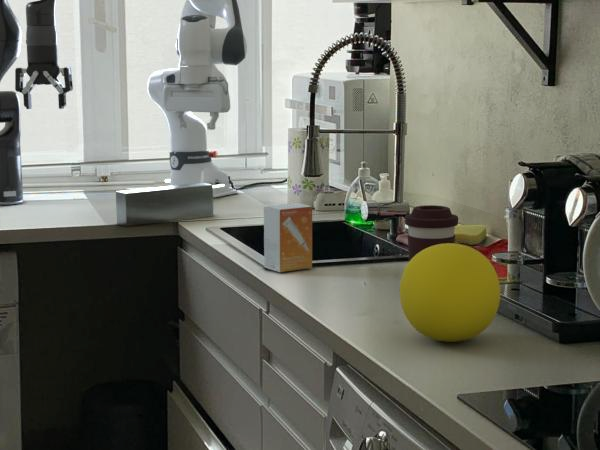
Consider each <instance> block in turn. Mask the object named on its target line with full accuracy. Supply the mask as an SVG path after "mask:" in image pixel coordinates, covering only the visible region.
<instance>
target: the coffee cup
mask: <svg viewBox="0 0 600 450" xmlns="http://www.w3.org/2000/svg"><path fill="white" fill-rule="evenodd" d="M404 225H406V226H407V227H408V228H407V230H408V233H407V251H408V253H407V254H408V262H409V261H410V260H411V259H412V258H413V257H414V256H415V255H416V254H418V253H419V252H420V251H422V250H424V249H426V248H428V247H431V246H434V245H438V244H445V243H454V244H456V243H455V242H456V235H455V229H456V228H455V227H456V226H458V225H459V216H458V215H456V214H453V213H452V211H451V208H450V207H448V206H444V205H437V204H436V205H434V204H433V205H431V204H429V205H426V204H425V205H418V206H414V207H413V208H412V210H411V213H408V214H406V215H405V216H404Z"/></svg>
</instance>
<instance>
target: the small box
mask: <svg viewBox="0 0 600 450" xmlns="http://www.w3.org/2000/svg"><path fill="white" fill-rule="evenodd" d="M263 248H264V249H263V257H264V258H263V259H264V266H263V267H264V268H266V269H267V270H270V271H274V272H278V273H285V272H290V271H291V272H292V271H298V270H299V271H300V270H307V269H308V270H309V269H312V268H313V206H312V205H308V204H303V203H299V202H291V203H279V204H278V203H277V204H273V205H264V206H263Z"/></svg>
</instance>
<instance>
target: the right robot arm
mask: <svg viewBox="0 0 600 450" xmlns="http://www.w3.org/2000/svg"><path fill="white" fill-rule="evenodd" d="M238 3H239V2H238V0H185V2H184V4H183V8H182V11H181V14H180V19H179V22H178V23H179V24H178V28H177V35H176V43H175V48H176V55H177V56H178V57H179V62H178V68H167V69H162V70H156V71H154V72H152V74H150V76H149V78H148V80H147V85H146V87H147V88H146V89H147V94H148V95H149V98H150V99H151V100H152V102H154V103H155V104H156V105H158V107H159V108H160V109H161V111H162V112H163V114H164V116H165V118H166V120H167V124H168V129H169V138H170V141H169V142H170V150H169V165H170V176H169V178H167V179H164V182H165V183H169V184H168V186H175V185H185V184H195V183H206V184H211V185H213V199H215V198H219V197H224V196H229V195H234V194H238V191H241V190H244V189H247V188H251V187H255V186H260V185H280V184H281V185H282V184H285V183H287V182H288V181H287V178H285V179H284V180H280V181H279V180H278V181H259V182H253V183H249V184H245V185H243V186H241V187H235V185H234V183H233V181H232V180H231V176H230V175H228V174H227V173H226V172H225V171H224V170H222V168H220V167H218V166H217V165H216V163H214V162H213V161H212V158H214V159H216V158H217V157H218V155H219V154H218V151H216V150H210V151H209V150H208V144H207V137H208V136H207V131H209V130H211V131H215V130H216V123H217V121H218V119H219V117H220V114H225V113H229V111H230V110H231V98H230V93H229V82H228V81H227V78H226V77H225V75H224V73H222V72H221V71H220V70H219V69H218V68H217V65H226V66H238V65H239V64H240V63H242V62H243V61H244V60H245V58H246V57H247V53H248V52H247V51H248V44H247V39H246V37H245V36H246V35H245V33H244V31H243V25H242V19H241V14H240V8H239V4H238ZM217 17H219V18H221V19H224V20H225V21H226V25H227V27H224V28H216V23H217ZM193 113H209V117H210V121H209V122H206V124H205V123H204V121H203V120H202V119H200V118H198V117H197V116H196V115H194V114H193ZM230 186H231V188H230Z"/></svg>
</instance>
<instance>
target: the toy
mask: <svg viewBox="0 0 600 450" xmlns="http://www.w3.org/2000/svg"><path fill="white" fill-rule="evenodd" d="M399 300H400V305H401V309H402V311H403V314H404V316H405V318H406V319H407V321H408V322H409V324H410V325H411V326H412V327H413V328H414V330H415V331H417V332H418V333H419V334H421V335H423V336H424V337H427V338H429V339H432V340H435V341H439V342H445V343H455V342H462V341H466V340H469V339H472V338H474V337H476V336H478V335H480V334H481V333H483V332H484V331H485V330H486V329H487V328H489V326H490V325H491V324H492V322H493V320H494V319H495V317H496V315H497V312H498V309H499V306H500V302H501V285H500V280H499V276H498V273H497V271H496V269H495V268H494V265H493V264H492V263H491V261H490V260H489V259H488V257H486V256H485V255H484V254H483V253H481V252H480V251H479V250H477V249H475V248H473V247H471V246H468V245H465V244H461V243H455V244H454V243H445V244H438V245H434V246H431V247H428V248H426V249H424V250H422V251H420V252H419V253H418V254H416V255H415V256H414V257H413V258H412V259H411V260H410V261H409V260H408V262H407V264H406V265H405V268H404V270H403V272H402V275H401V278H400V283H399Z"/></svg>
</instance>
